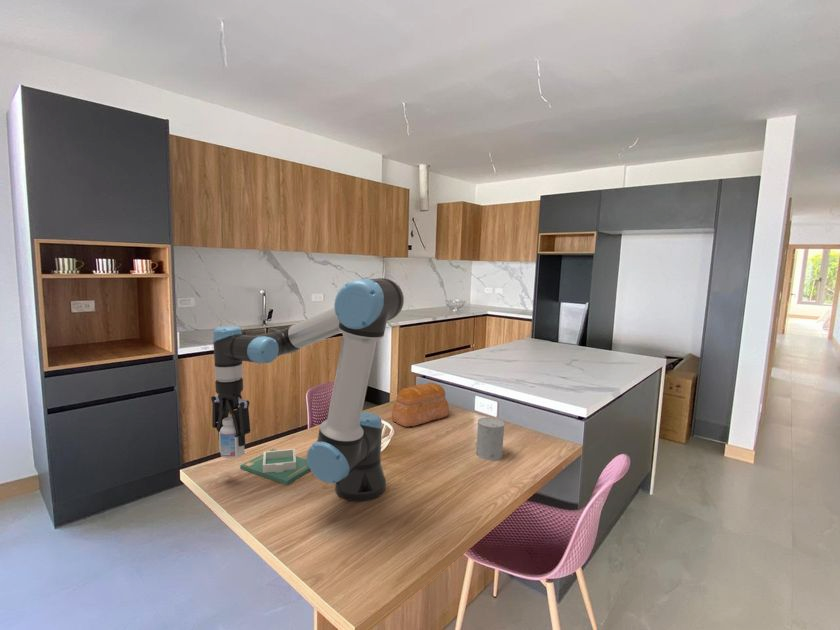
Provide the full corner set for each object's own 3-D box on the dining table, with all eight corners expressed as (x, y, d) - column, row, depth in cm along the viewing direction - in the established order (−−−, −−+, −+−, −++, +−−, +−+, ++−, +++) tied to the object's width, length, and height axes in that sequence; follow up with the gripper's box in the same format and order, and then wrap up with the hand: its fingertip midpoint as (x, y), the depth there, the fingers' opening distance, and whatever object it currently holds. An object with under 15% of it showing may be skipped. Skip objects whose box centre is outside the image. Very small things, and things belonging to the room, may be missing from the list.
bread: (452, 417, 192) (453, 384, 190) (407, 430, 175) (408, 394, 173) (431, 408, 202) (433, 377, 200) (387, 420, 185) (388, 386, 183)
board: (317, 466, 141) (317, 455, 140) (286, 485, 128) (286, 473, 128) (273, 452, 150) (273, 442, 149) (240, 468, 137) (240, 457, 137)
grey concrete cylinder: (473, 457, 152) (474, 424, 151) (479, 446, 161) (481, 415, 160) (499, 462, 149) (501, 429, 147) (504, 452, 157) (506, 420, 156)
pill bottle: (234, 460, 124) (233, 423, 123) (216, 458, 126) (214, 421, 124) (247, 451, 130) (245, 416, 129) (229, 449, 131) (228, 414, 130)
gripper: (262, 379, 124) (264, 455, 127) (218, 372, 133) (221, 442, 135) (241, 386, 118) (244, 465, 120) (196, 377, 126) (199, 451, 129)
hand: (232, 453), depth 128 cm, fingers closed on pill bottle, 6 cm apart
